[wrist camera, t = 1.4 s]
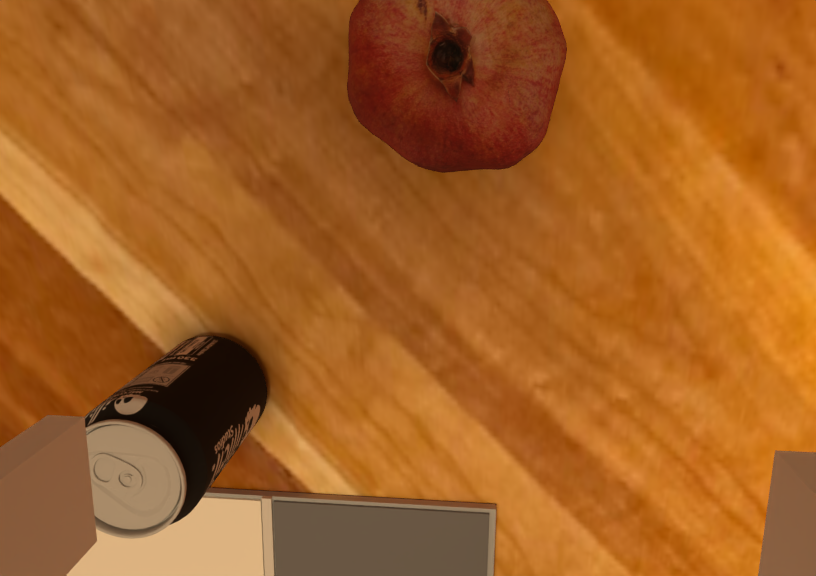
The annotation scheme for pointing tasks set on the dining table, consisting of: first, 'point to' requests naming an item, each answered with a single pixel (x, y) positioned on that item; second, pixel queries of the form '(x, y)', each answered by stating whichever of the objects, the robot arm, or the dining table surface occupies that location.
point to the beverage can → (171, 434)
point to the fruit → (456, 78)
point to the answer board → (306, 538)
